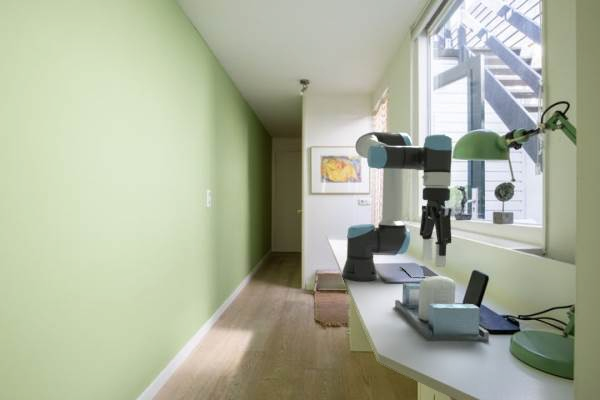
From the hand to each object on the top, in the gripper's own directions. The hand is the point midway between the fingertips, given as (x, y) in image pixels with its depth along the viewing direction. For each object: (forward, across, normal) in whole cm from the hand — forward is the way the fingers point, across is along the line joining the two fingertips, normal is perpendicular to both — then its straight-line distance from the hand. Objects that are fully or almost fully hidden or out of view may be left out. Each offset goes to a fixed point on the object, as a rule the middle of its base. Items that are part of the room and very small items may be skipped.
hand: (433, 263), depth 96 cm
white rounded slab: (+16, +3, 0) cm, 16 cm away
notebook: (+18, -57, +20) cm, 63 cm away
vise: (+17, +3, 0) cm, 17 cm away
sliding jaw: (+16, -6, 0) cm, 17 cm away
